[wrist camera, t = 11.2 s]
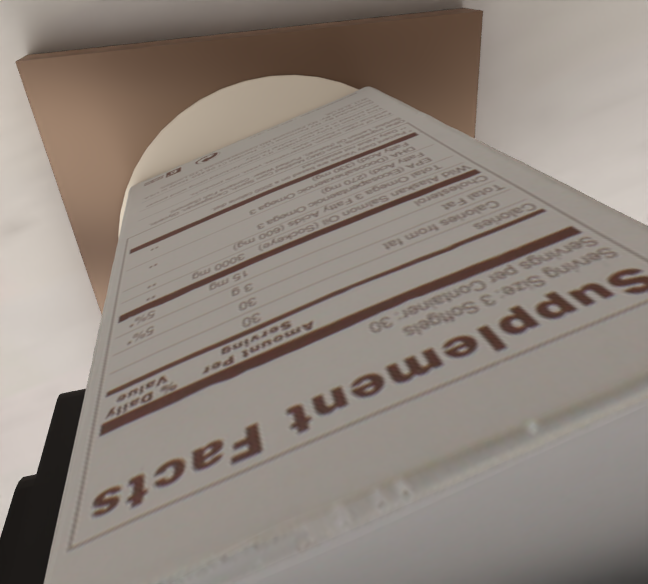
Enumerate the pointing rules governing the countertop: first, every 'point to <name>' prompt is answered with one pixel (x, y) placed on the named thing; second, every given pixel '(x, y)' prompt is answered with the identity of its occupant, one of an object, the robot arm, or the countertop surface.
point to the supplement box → (364, 370)
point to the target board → (226, 100)
